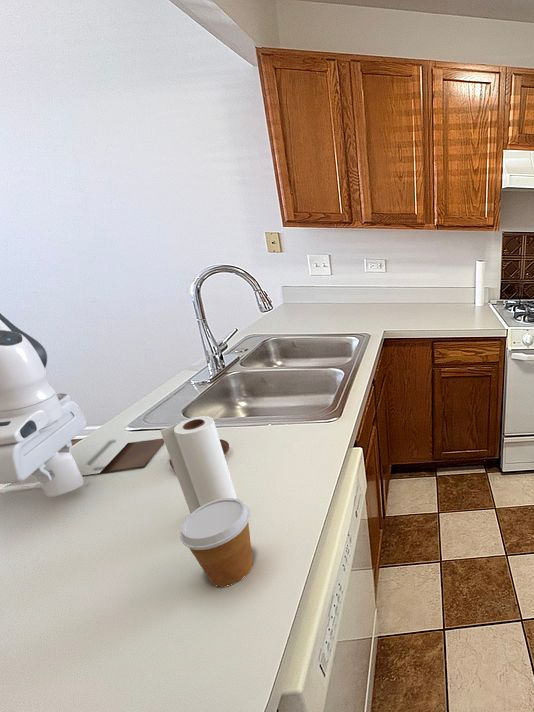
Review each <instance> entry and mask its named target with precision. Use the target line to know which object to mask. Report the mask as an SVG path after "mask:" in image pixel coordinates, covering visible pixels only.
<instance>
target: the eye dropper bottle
mask: <svg viewBox="0 0 534 712" xmlns="http://www.w3.org/2000/svg"><path fill="white" fill-rule="evenodd" d="M44 464H45V467H44V469H45V470H47V471H49V470H53V472H54V475H55V477H54V478H53V479H52V480H51V481H50V482H45V483H40V482H39V483H40V486H41V487H42V490H43V491H44V493H45V495H46V496H47V497H49V498H51V497H57V496H61V495H65V494H68V493H70V492H73V491H75V490H77V489H79V488H81V487H82V486H83V485H85V484H84V483H85V482H84V477H83V476H82V474H81V471H80V469H79V467H78V465H77V462H76V461H75V459H74V456H73V455H72V453H71V454H70V453H67V452H62V453H58V452H57V453H55V454H54V455H53V456H52V457H51V458H49V459H48V460H47V461H46V462H45V463H44Z"/></svg>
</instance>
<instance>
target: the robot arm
mask: <svg viewBox="0 0 534 712" xmlns="http://www.w3.org/2000/svg"><path fill="white" fill-rule="evenodd" d="M47 353H48V352H47V351H46V349H45V347H44V346H43V345H42V344H41V342H39V341H38V340H37V339H35V338H34V337H33V336H31V335H30V334H28V333H26V332H25V331H23V330H22V329H20V328H19V327H17V326H16V325H15V324H13V323H12V322H11V321H10V320H9V319H8V318H7V317H5V316H4V315H3V314H2V313H1V312H0V484H1V485H5V484H6V485H8V484H13V483H21V482H24V481H25V480H26V479H27V478H28V477H30V476H31V475H32V476H34V477H36V479H37V480H38V482H39V483H45V482H50V481H51V480H52V479H53V478H54V477H55V475H54V472H53V470H49V471H47V470H45V469H44V467H45V464H44V463H45V462H46V461H47V460H48V459H49V458H51V457H52V456H53V455H54V454H55V453H57V452H58V453H62V452H67V453H70V454H71V455H72V451H73V450H72V449H73V443H72V440H73V439H75V438H76V437H77V436H78V435H80V434H81V433H82V432H83V431H84V430H86V428H87V425H88V424H87V423H88V421H87V418H86V416H85V415H84V413H83V411H82V409H81V408H80V406H79V405H78V404H77V403H76V402H75V401H73V400H72V398H71V396H70V395H69V394H67V393H62V392H60V393H57V392H56V390H55V389H54V388H53V387H52V386H51V384H50V383H49V382H48V376H47V374H48V373H47V370H46V368H47V364H48V354H47Z"/></svg>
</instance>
